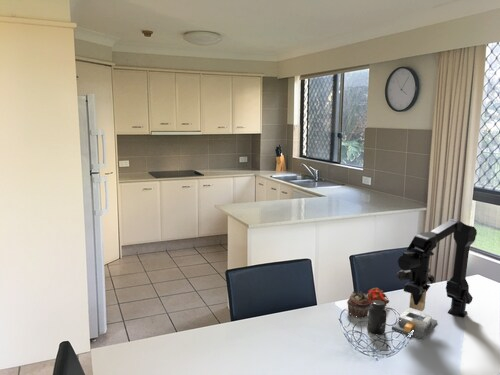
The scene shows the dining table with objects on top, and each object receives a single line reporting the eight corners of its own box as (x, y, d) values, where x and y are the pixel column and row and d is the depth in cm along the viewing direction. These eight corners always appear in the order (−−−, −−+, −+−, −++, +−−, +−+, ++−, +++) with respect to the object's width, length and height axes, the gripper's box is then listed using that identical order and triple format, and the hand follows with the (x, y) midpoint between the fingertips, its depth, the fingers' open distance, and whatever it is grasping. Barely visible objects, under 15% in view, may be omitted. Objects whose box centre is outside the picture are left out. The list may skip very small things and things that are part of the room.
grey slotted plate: (407, 313, 184) (408, 304, 183) (436, 322, 176) (437, 313, 176) (391, 328, 170) (392, 319, 169) (422, 339, 163) (423, 329, 162)
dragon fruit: (369, 302, 197) (384, 317, 186) (358, 294, 194) (372, 309, 183) (381, 288, 197) (396, 303, 186) (370, 280, 193) (385, 294, 182)
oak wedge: (411, 305, 175) (413, 286, 173) (424, 308, 171) (426, 290, 170) (409, 307, 172) (411, 288, 171) (421, 311, 169) (424, 292, 168)
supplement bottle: (386, 336, 164) (388, 307, 162) (367, 334, 165) (370, 305, 163) (384, 328, 171) (386, 299, 169) (366, 325, 172) (368, 297, 170)
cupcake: (374, 315, 181) (376, 293, 179) (358, 321, 176) (360, 298, 174) (357, 306, 189) (358, 285, 187) (341, 311, 183) (343, 290, 182)
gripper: (409, 256, 181) (405, 290, 184) (392, 267, 167) (388, 304, 169) (436, 262, 174) (432, 298, 177) (421, 274, 160) (417, 313, 162)
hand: (417, 303), depth 172 cm, fingers closed on oak wedge, 3 cm apart
